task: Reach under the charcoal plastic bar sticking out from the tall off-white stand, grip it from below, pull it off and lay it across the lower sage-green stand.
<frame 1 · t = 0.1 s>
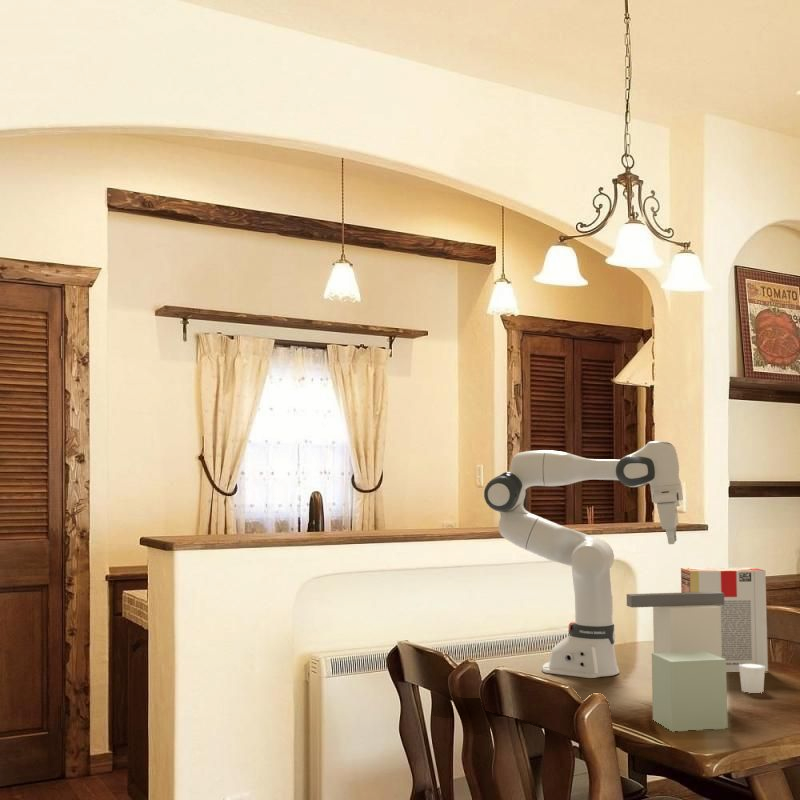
hand: (672, 542, 280), 39 cm above the table, tool pointing down, fingers open, 8 cm apart
charcoal bar: (675, 605, 250), point 25 cm above the table, touching tall stand
low stand: (689, 724, 228), on the table
shot glass: (752, 692, 261), on the table
pasta box: (724, 670, 288), on the table
tall stand: (688, 701, 249), on the table
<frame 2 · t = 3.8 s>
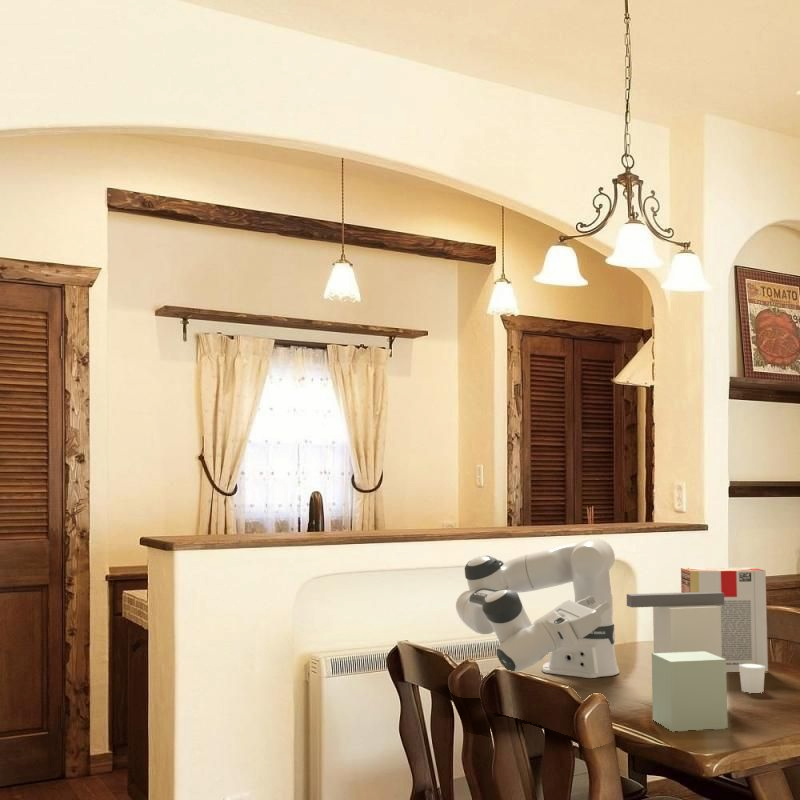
hand: (600, 601, 247), 27 cm above the table, tool pointing upward, fingers open, 8 cm apart
nothing on the table moved.
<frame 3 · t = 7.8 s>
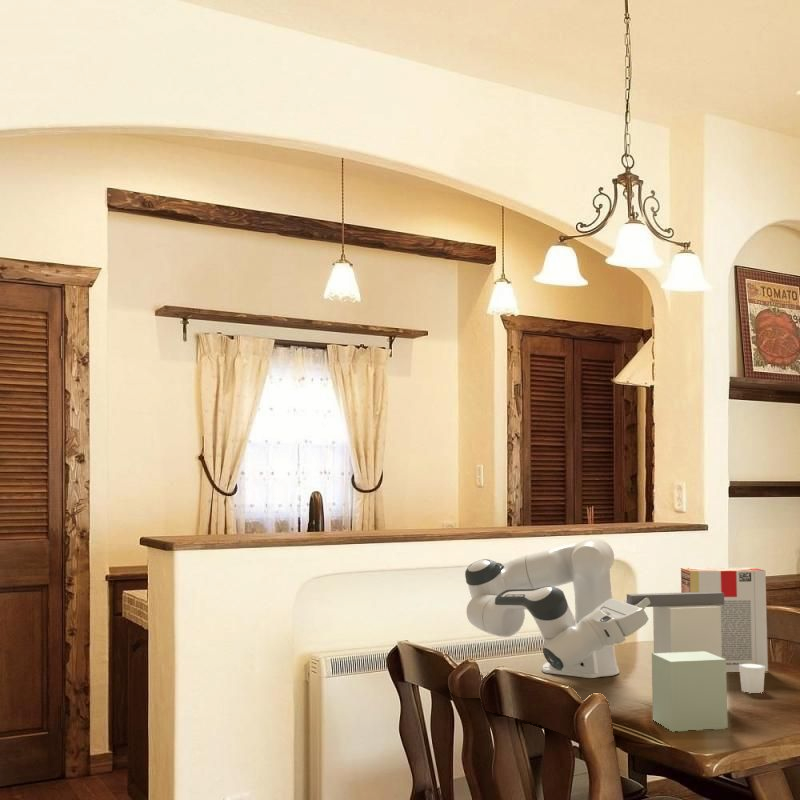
hand: (644, 598, 249), 27 cm above the table, tool pointing upward, fingers closed on charcoal bar, 3 cm apart
charcoal bar: (675, 605, 250), point 25 cm above the table, touching gripper, tall stand
everything else where it was.
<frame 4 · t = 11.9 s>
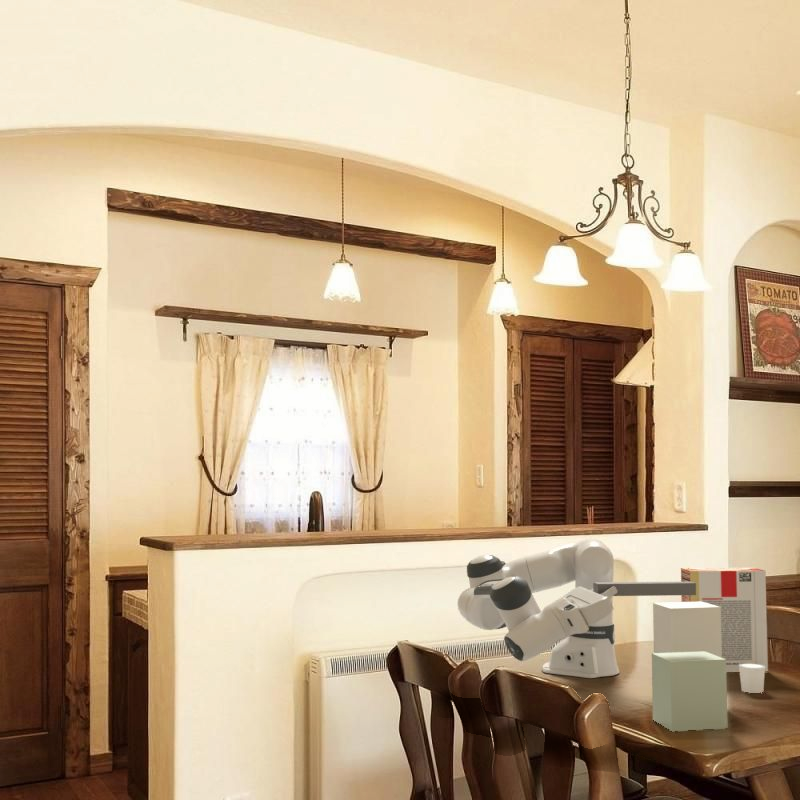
hand: (612, 587, 239), 31 cm above the table, tool pointing upward, fingers closed on charcoal bar, 3 cm apart
charcoal bar: (644, 594, 240), point 29 cm above the table, touching gripper
everything else where it was.
when the fingers open (19 cm above the table, at t = 15.7 s): charcoal bar drops 1 cm, resting on low stand.
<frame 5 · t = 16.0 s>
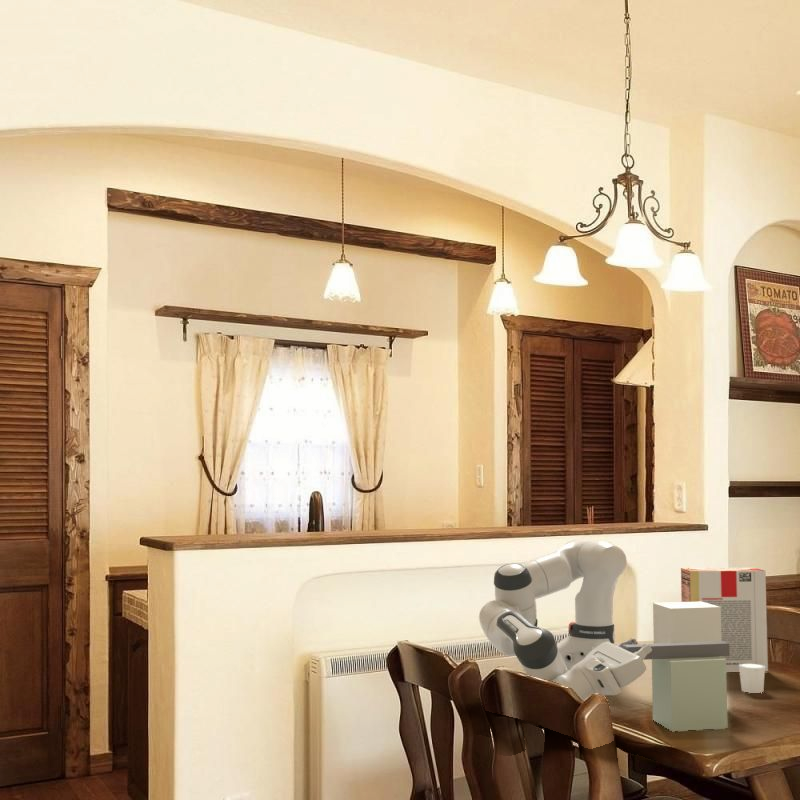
hand: (642, 643, 227), 19 cm above the table, tool pointing upward, fingers open, 6 cm apart
charcoal bar: (676, 656, 228), point 16 cm above the table, touching low stand
everything else where it was.
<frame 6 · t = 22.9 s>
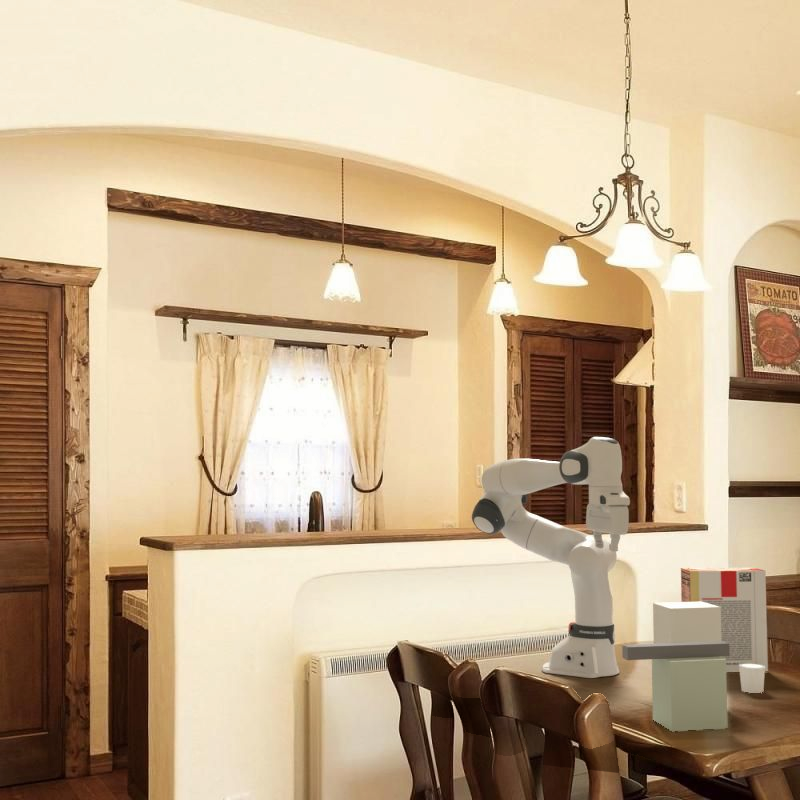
hand: (606, 549, 255), 39 cm above the table, tool pointing down, fingers open, 8 cm apart
nothing on the table moved.
at the end: charcoal bar inside the target area on the low stand (0.2 cm from its centre), point 16.0 cm above the low stand's base; charcoal bar tilted 0°; the gripper is holding nothing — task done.
